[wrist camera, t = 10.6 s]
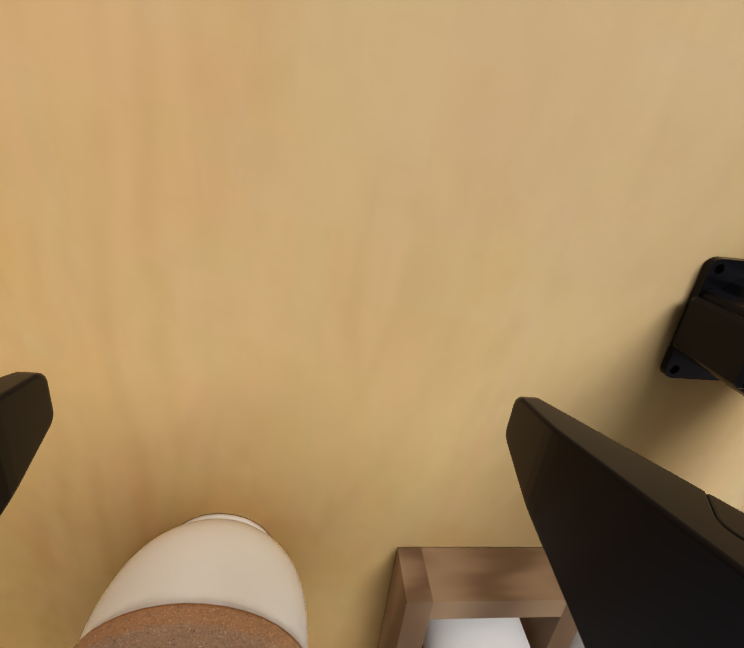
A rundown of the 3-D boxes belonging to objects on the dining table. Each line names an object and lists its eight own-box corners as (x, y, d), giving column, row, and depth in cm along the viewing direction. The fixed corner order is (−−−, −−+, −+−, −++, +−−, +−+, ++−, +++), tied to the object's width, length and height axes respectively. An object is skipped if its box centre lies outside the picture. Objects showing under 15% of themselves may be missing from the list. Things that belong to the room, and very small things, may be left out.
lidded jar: (308, 608, 30) (303, 805, 21) (135, 612, 28) (55, 825, 20) (318, 482, 25) (315, 667, 17) (113, 480, 24) (-2, 680, 16)
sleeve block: (563, 547, 30) (592, 599, 26) (521, 651, 34) (541, 706, 31) (397, 547, 28) (406, 602, 25) (375, 656, 33) (381, 714, 29)
